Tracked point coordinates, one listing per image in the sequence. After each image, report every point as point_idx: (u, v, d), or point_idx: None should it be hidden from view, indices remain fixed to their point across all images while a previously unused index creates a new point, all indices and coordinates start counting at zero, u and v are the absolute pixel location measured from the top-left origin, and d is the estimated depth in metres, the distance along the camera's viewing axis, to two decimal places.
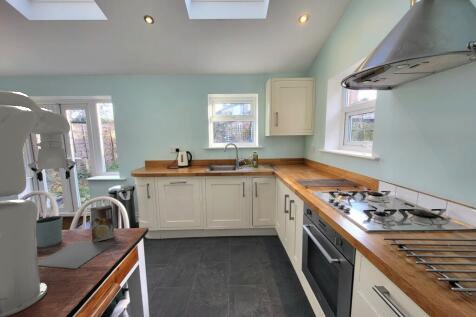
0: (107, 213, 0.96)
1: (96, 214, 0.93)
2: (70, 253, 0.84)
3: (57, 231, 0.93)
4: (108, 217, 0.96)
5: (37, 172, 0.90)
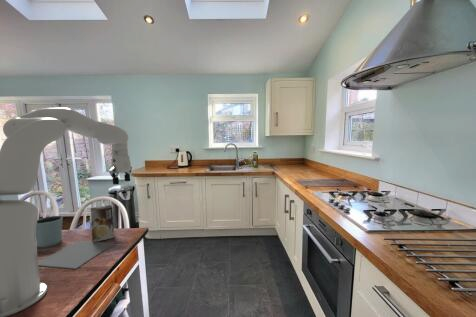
0: (107, 213, 0.96)
1: (96, 214, 0.93)
2: (70, 253, 0.84)
3: (57, 231, 0.93)
4: (108, 217, 0.96)
5: (116, 176, 1.05)
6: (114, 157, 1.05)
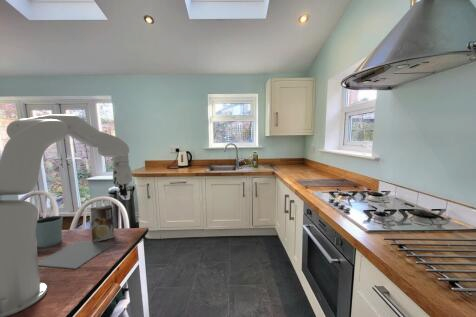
0: (107, 213, 0.96)
1: (96, 214, 0.93)
2: (70, 253, 0.84)
3: (57, 231, 0.93)
4: (108, 217, 0.96)
5: (123, 188, 1.10)
6: (115, 169, 1.06)
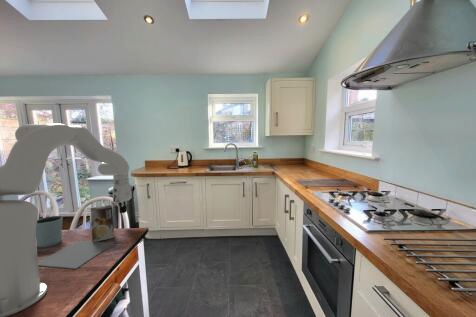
0: (107, 213, 0.96)
1: (96, 214, 0.93)
2: (70, 253, 0.84)
3: (57, 231, 0.93)
4: (108, 217, 0.96)
5: (123, 205, 1.10)
6: (115, 187, 1.06)
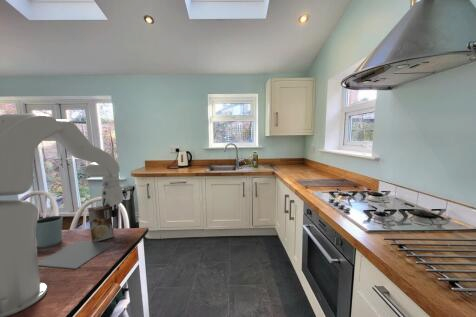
0: (105, 213, 0.95)
1: (94, 215, 0.92)
2: (70, 253, 0.84)
3: (57, 231, 0.93)
4: (107, 217, 0.95)
5: (113, 209, 1.03)
6: (104, 189, 0.99)
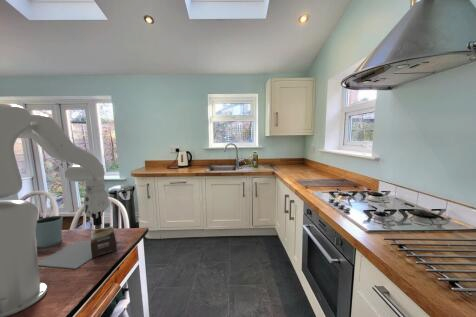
0: None
1: None
2: (70, 253, 0.84)
3: (57, 231, 0.93)
4: None
5: (97, 216, 0.93)
6: (87, 195, 0.89)
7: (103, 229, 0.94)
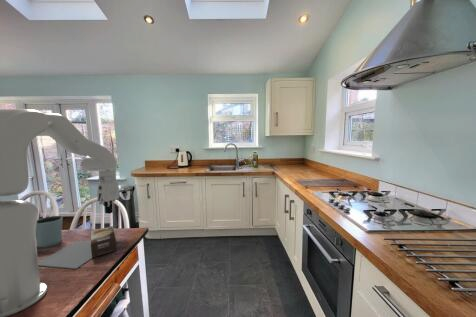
0: None
1: None
2: (70, 253, 0.84)
3: (57, 231, 0.93)
4: None
5: (109, 205, 1.00)
6: (100, 184, 0.96)
7: (103, 229, 0.94)
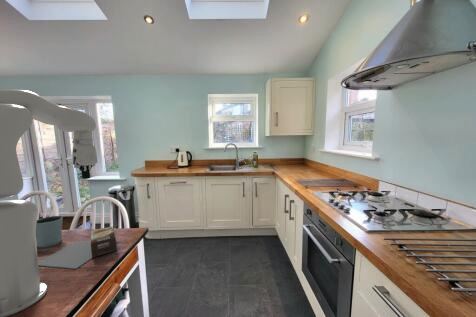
0: None
1: None
2: (70, 253, 0.84)
3: (57, 231, 0.93)
4: None
5: (85, 170, 0.97)
6: (75, 147, 0.92)
7: (103, 229, 0.94)
